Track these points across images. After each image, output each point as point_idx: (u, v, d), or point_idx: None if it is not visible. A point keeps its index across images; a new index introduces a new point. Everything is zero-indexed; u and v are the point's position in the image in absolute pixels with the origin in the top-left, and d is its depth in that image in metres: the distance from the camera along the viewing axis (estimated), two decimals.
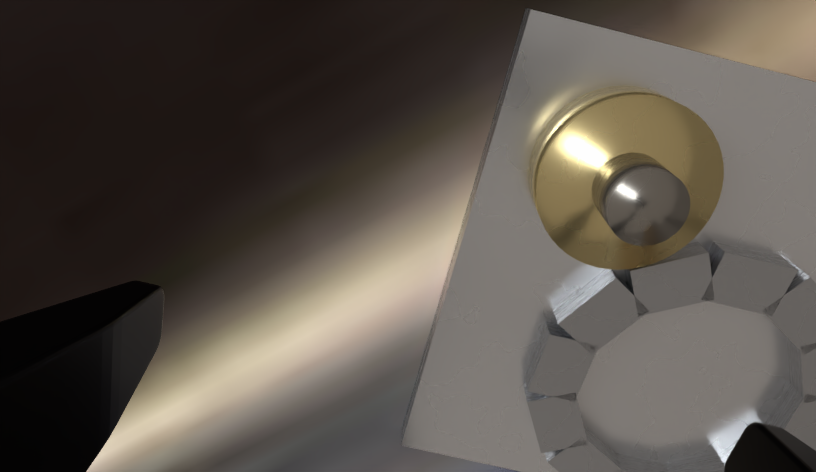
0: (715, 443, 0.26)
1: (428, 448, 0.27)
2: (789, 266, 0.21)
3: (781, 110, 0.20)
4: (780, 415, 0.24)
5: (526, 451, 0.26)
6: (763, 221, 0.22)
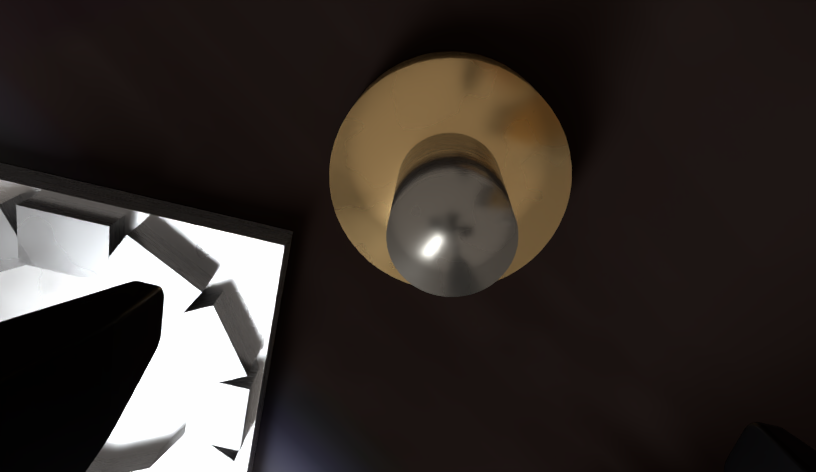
0: None
1: None
2: None
3: None
4: None
5: None
6: None
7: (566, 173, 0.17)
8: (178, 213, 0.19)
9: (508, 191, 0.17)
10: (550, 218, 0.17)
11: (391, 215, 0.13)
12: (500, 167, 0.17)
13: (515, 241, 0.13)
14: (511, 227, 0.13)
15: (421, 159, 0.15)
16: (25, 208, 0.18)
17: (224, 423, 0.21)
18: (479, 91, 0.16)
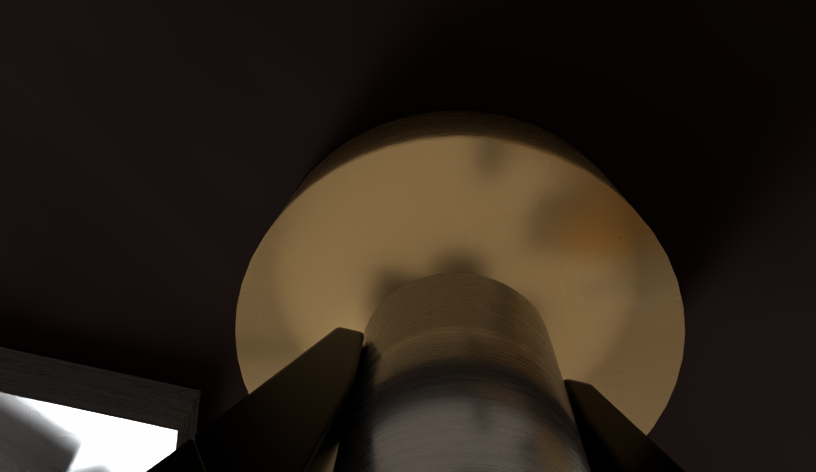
0: None
1: None
2: None
3: None
4: None
5: None
6: None
7: (672, 344, 0.09)
8: (3, 371, 0.12)
9: (564, 372, 0.09)
10: (638, 415, 0.10)
11: None
12: (550, 331, 0.09)
13: None
14: None
15: (398, 364, 0.07)
16: None
17: None
18: (514, 200, 0.08)
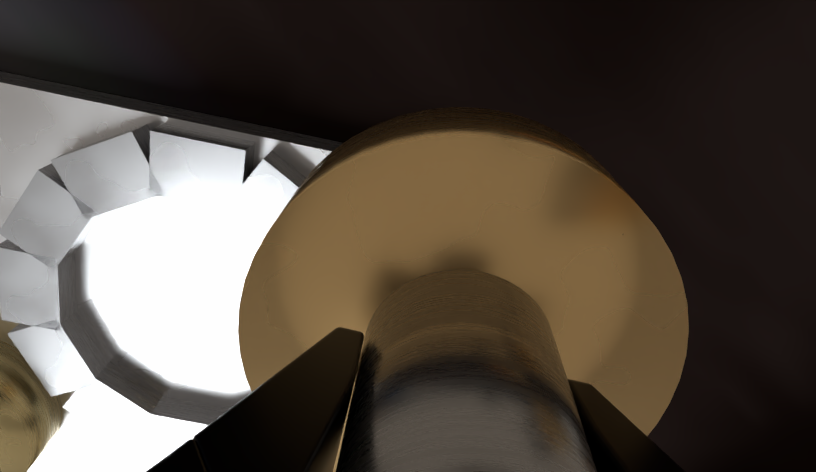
0: None
1: None
2: None
3: None
4: None
5: None
6: None
7: (676, 341, 0.09)
8: (305, 140, 0.19)
9: (567, 369, 0.09)
10: (642, 413, 0.10)
11: None
12: (553, 328, 0.09)
13: None
14: None
15: (401, 361, 0.07)
16: (159, 134, 0.17)
17: None
18: (518, 197, 0.08)
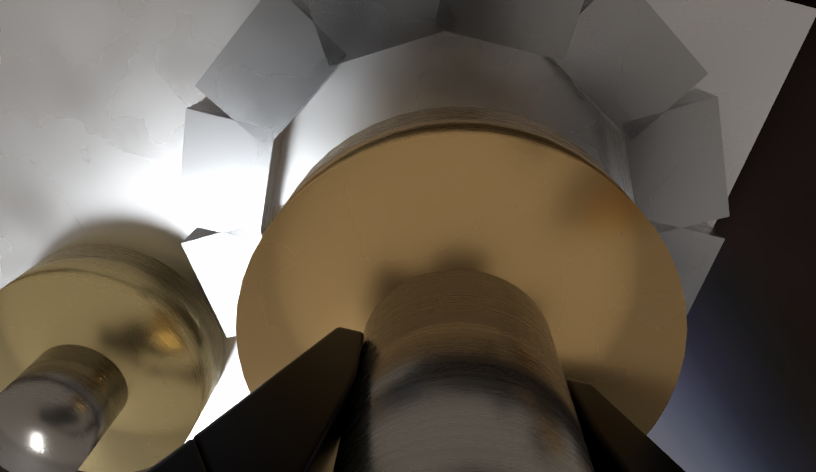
0: (583, 133, 0.14)
1: None
2: (187, 117, 0.13)
3: None
4: None
5: None
6: (149, 143, 0.14)
7: (675, 341, 0.09)
8: None
9: (565, 369, 0.09)
10: (640, 413, 0.10)
11: None
12: (552, 328, 0.09)
13: None
14: None
15: (399, 360, 0.07)
16: None
17: None
18: (516, 196, 0.08)
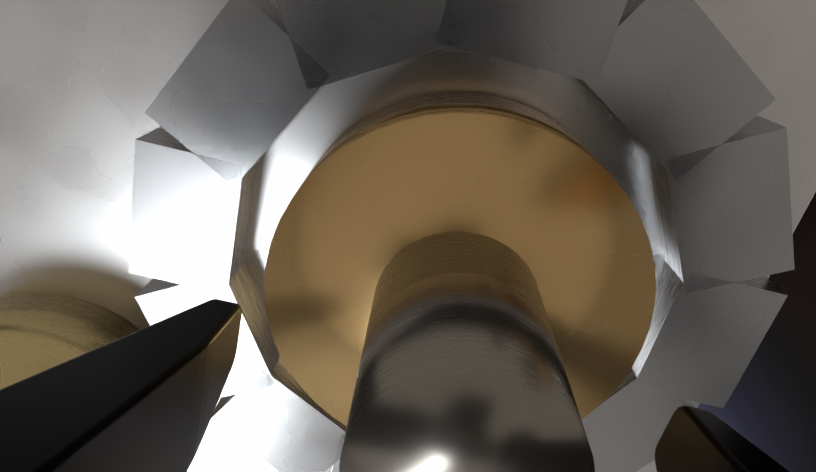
0: (616, 167, 0.11)
1: None
2: (138, 149, 0.11)
3: None
4: None
5: None
6: (97, 178, 0.12)
7: (646, 295, 0.10)
8: None
9: (551, 320, 0.11)
10: (617, 360, 0.11)
11: (348, 439, 0.07)
12: (539, 284, 0.10)
13: None
14: (581, 463, 0.07)
15: (409, 300, 0.08)
16: None
17: (715, 359, 0.12)
18: (507, 167, 0.10)
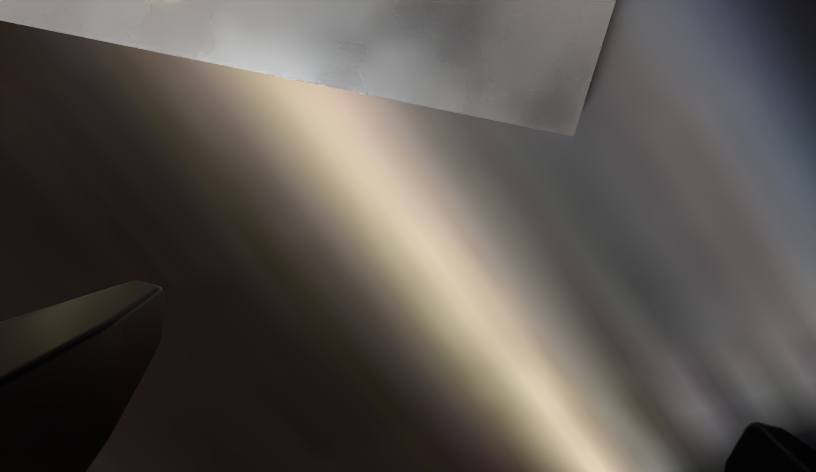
0: None
1: (580, 96, 0.18)
2: None
3: None
4: None
5: None
6: None
7: None
8: None
9: None
10: None
11: None
12: None
13: None
14: None
15: None
16: None
17: None
18: None
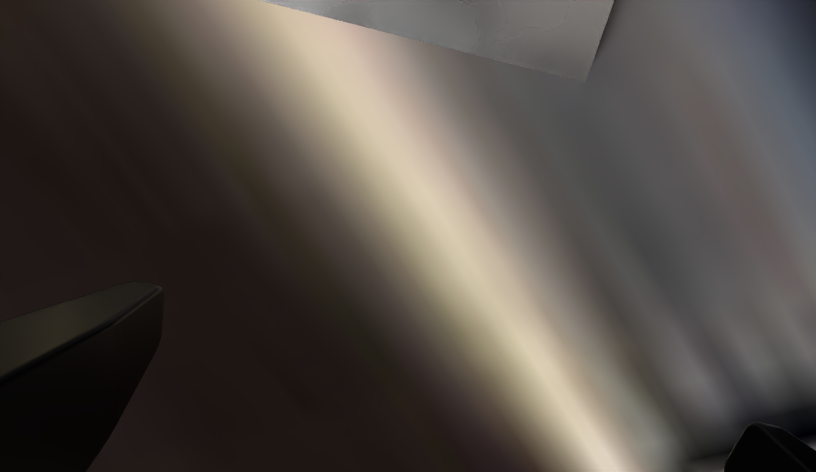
0: None
1: (594, 40, 0.18)
2: None
3: None
4: None
5: None
6: None
7: None
8: None
9: None
10: None
11: None
12: None
13: None
14: None
15: None
16: None
17: None
18: None
